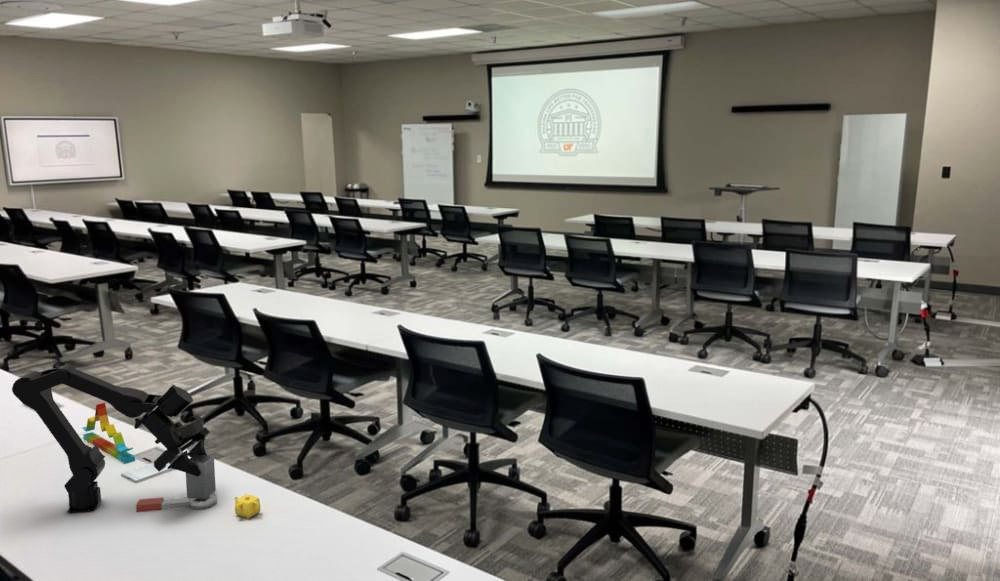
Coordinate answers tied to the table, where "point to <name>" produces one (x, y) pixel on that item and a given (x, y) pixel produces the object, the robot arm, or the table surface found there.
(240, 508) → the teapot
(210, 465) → the brushed steel square block
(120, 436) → the chart
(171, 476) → the table surface
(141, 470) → the hard drive
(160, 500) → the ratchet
